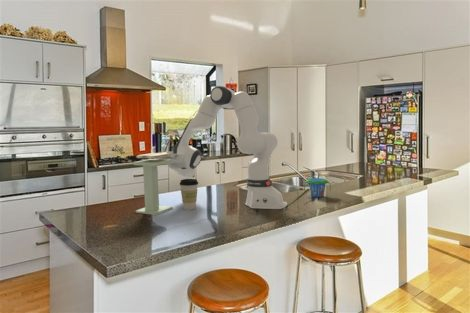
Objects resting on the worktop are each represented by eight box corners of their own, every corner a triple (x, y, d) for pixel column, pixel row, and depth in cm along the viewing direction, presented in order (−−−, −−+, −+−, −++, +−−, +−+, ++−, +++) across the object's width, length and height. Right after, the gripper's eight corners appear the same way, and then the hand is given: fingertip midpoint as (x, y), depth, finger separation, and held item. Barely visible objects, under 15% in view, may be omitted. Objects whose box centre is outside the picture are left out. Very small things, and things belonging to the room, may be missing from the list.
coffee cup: (195, 210, 193) (195, 182, 191) (177, 210, 195) (176, 181, 193) (201, 206, 202) (200, 178, 201) (183, 205, 204) (183, 178, 202)
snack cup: (302, 197, 219) (302, 180, 218) (305, 193, 229) (305, 177, 228) (329, 199, 214) (330, 181, 212) (331, 195, 223) (331, 178, 222)
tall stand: (172, 208, 198) (171, 159, 195) (156, 215, 186) (154, 163, 183) (152, 206, 204) (150, 158, 201) (135, 212, 191) (133, 162, 188)
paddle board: (179, 154, 203) (179, 151, 203) (156, 158, 184) (155, 155, 184) (161, 153, 208) (161, 151, 208) (136, 157, 189) (136, 155, 189)
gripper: (162, 157, 217) (149, 147, 206) (193, 158, 208) (180, 147, 197) (160, 167, 215) (146, 157, 203) (190, 168, 206) (178, 158, 195)
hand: (163, 152), depth 200 cm, fingers closed on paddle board, 4 cm apart
